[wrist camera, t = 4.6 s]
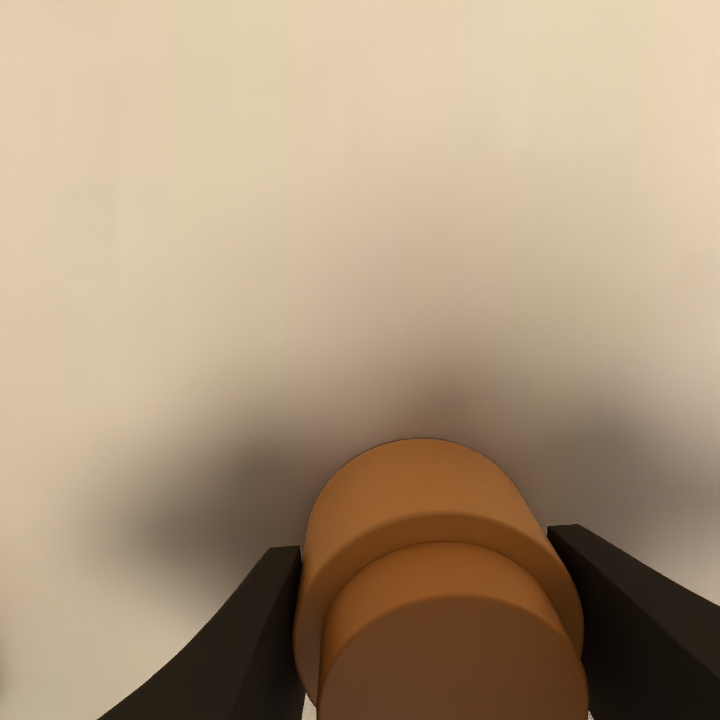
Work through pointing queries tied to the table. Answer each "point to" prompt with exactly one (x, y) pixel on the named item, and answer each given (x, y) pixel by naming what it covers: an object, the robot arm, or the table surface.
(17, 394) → the table surface
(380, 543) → the round bread
